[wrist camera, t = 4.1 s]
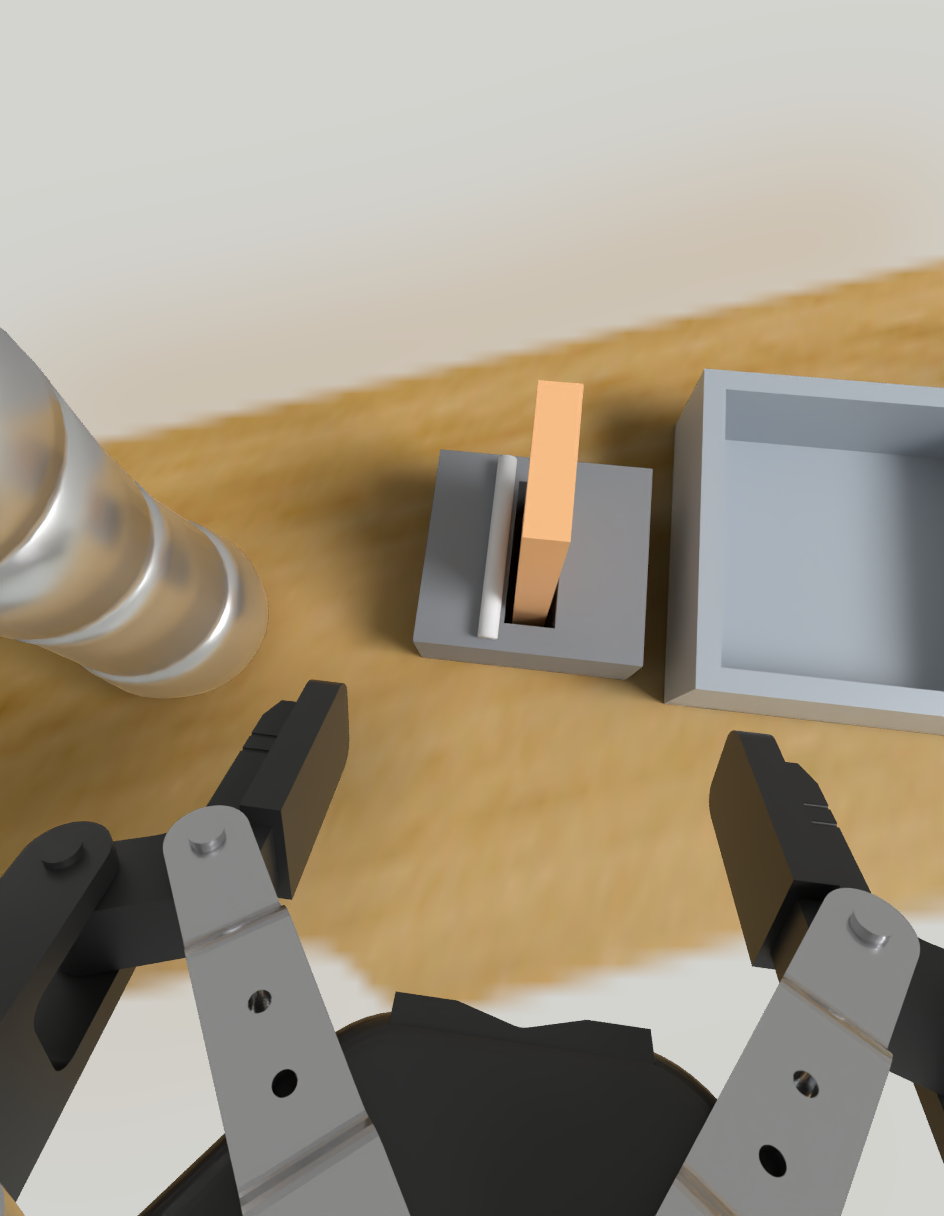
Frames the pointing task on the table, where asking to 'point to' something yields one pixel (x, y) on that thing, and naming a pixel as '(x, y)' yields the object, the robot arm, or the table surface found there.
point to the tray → (808, 551)
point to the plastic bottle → (111, 557)
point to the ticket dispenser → (588, 583)
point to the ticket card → (548, 499)
